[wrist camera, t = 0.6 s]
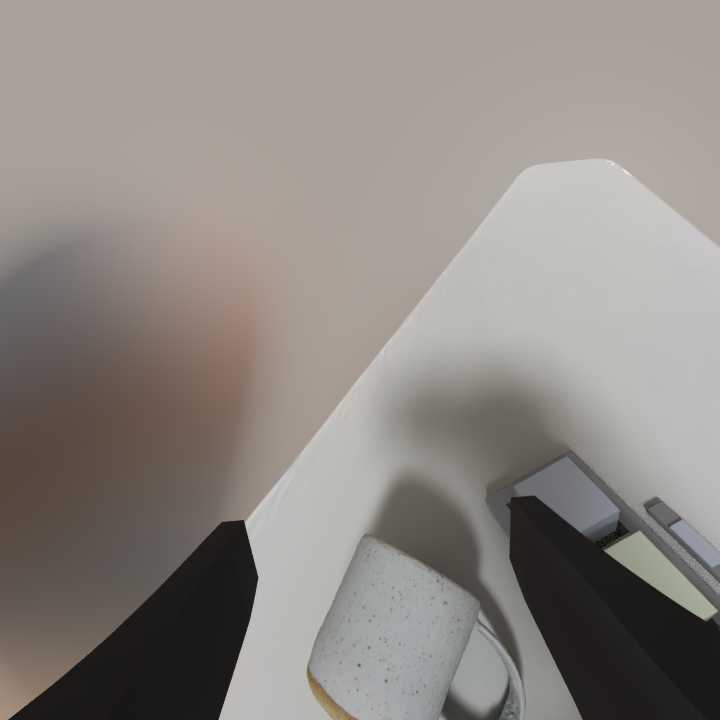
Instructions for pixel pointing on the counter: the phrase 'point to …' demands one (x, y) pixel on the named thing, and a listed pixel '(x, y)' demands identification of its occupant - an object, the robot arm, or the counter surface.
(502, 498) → the keypad base
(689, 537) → the strip
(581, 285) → the counter surface
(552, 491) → the slate key
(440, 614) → the ceramic mug
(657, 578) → the sage key
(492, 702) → the counter surface
